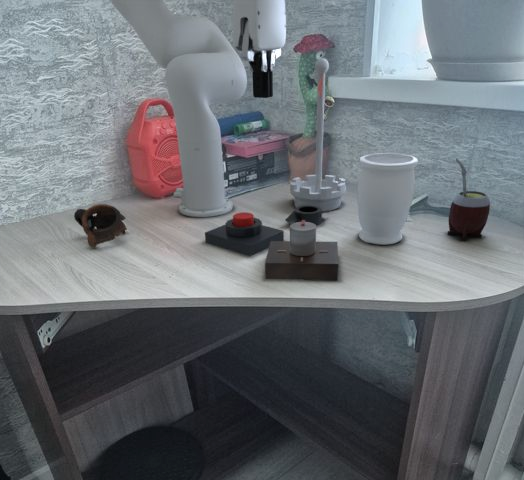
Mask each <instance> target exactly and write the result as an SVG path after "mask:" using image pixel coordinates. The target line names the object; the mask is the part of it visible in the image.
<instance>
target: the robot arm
mask: <svg viewBox="0 0 524 480" xmlns="http://www.w3.org/2000/svg"><path fill="white" fill-rule="evenodd" d="M109 2H111V4H112V6H113V7H114V8H115V10H117V12H119V14H120V15H121V16H122V18H124V20H126V22H127V23H128V24H129V25H130V26H131V27H132V29H133V30H134V31H135V34H136V35H137V36H138V38H139V39H140V41H141V43H142V44H143V45H144V47H145V48H146V50H147V51H148V52H149V54H150V55H151V57H152V58H153V60H154V61H155V62H156V63H157V64H158V66H160V67H161V68H163V69H165V74H164V78H165V79H164V80H165V85H166V90H167V94H168V97H169V100H170V104H171V107H172V111H173V116H174V123H175V130H176V137H177V145H178V146H177V147H178V153H179V160H180V161H179V162H180V169H181V178H182V185H183V187H176V189H175V191H174V192H173V198H175V199H180V200H181V204H180V205H179V207H178V208H179V213H180V214H182V215H184V216H187V217H192V218H210V217H217V216H221V215H225V214H227V213H230V212H231V211H232V210H233V207H234V206H233V205H234V204H233V201H231V200H230V199H227V198H226V186H225V185H226V184H225V173H224V171H225V170H224V159H223V158H224V157H223V147H222V146H223V145H222V134H221V127H220V124H219V121H218V119H217V118H216V115H214V113H213V111H212V110H211V108H210V106H213V105H218V104H219V105H220V104H227V103H231V102H235V101H237V100H239V99H241V98H242V97H243V95H245V93H246V90H247V86H248V76H247V75H248V74H247V70H246V68H245V65H244V62H243V61H246V62H248V63H249V69H250V71H251V73H252V75H251V76H252V96H253V98H257V99H269V98H272V97H273V96H274V75H273V72H274V71H275V64H276V63H275V62H276V60H277V59H278V58H280V57H281V55H282V49H283V47H284V46H285V45H286V40H287V39H286V38H287V13H286V0H232V42H233V46H232V44H231V43H230V42H229V40H228V39H227V37H226V36H225V34H223V32H222V30H221V29H220V28H219V26H218V25H216V23H214V21H212V20H210V19H208V18H207V17H203V16H182V15H176V14H174V13H173V12H172V11H171V10H170V9H169V7H168V6H167V5H166V3H165V2H164V1H163V0H109ZM236 51H238V52H241V57H240V56H239V54H238V53H237V52H236ZM242 60H243V61H242Z"/></svg>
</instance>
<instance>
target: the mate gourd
mask: <svg viewBox="0 0 524 480" xmlns="http://www.w3.org/2000/svg"><path fill="white" fill-rule="evenodd" d="M455 161H456V163H457V164H458V165H459V167H460V169H461V172H460V173H461V176H462V191H459V192H458V193H456V194H455V196H454V197H453V198H452V201H451V203H450V204H451V205H450V207H449V214H448V231H447V235H449V236H459V237H461V239H460V240H461V241H462V242H466V241H467V237H469V238H470V237H471V238H479V239H481V238H482V236H483V234H482V232H483V230H484V228H485V226H486V225H487V221H488V218H489V215H490V210H491V200H490V198H489V196H488V194H486V193H485V192H483V191H478V190H467V169H466V167H465V166H464V164H463V163H462V161H460V160H459V159H458V158H455Z"/></svg>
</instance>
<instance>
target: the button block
mask: <svg viewBox="0 0 524 480" xmlns="http://www.w3.org/2000/svg"><path fill="white" fill-rule="evenodd" d="M284 237H285V231H284V230H282V229H280V228H279V229H278V228H275V227H271V226H267V225H263V222H262V220H260V218H257V217H254V224H253V225H251V226H245V227H239V226H234V225H233V218H231V219H228V220H227V221H225V224H223V225H221V226H217V227H215V228H213V229H210V230H208V231H205V232H204V238H205V239H204V240H205V243H206V244H209V245H211V246H214V247H218V248H222V249H224V250H228V251H231V252H234V253H237V254H240V255H243V256H247V257H252V256H254V255H257V254H259V253H260V252H263V251H265V250H267V249H269V246H270V242H271V241H285V238H284Z"/></svg>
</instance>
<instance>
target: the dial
mask: <svg viewBox="0 0 524 480" xmlns="http://www.w3.org/2000/svg"><path fill="white" fill-rule="evenodd" d="M289 241H290V253H291V254H293V255H296V256H309V255H312V254H314V253H315V251H316V242H317V226H316V225H315V224H313V223H310V222H305V220H302V222H296V223H295V222H293V223H291V224H290V226H289Z"/></svg>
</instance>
